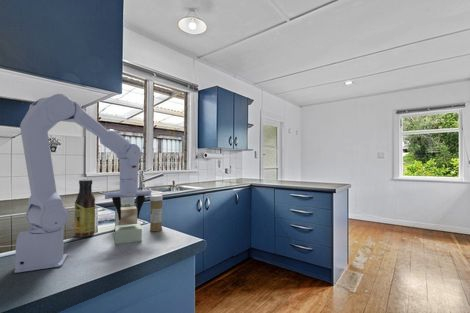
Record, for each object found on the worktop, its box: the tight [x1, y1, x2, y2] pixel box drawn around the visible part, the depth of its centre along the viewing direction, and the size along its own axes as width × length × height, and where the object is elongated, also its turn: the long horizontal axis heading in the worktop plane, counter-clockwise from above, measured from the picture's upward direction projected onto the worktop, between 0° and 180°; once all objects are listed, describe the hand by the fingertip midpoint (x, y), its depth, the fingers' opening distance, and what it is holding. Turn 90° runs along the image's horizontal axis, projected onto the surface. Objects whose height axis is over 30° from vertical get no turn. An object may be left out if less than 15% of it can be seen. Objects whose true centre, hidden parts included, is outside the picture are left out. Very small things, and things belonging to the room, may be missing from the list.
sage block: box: [114, 222, 143, 245], centre depth 85 cm, size 8×8×4 cm
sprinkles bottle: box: [149, 194, 164, 232], centre depth 96 cm, size 5×5×14 cm
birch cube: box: [120, 205, 138, 225], centre depth 85 cm, size 5×5×5 cm
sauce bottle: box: [73, 178, 96, 238], centre depth 89 cm, size 7×6×20 cm
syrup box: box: [114, 190, 135, 228], centre depth 98 cm, size 6×6×14 cm
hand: (128, 218), depth 85 cm, fingers closed on birch cube, 5 cm apart
